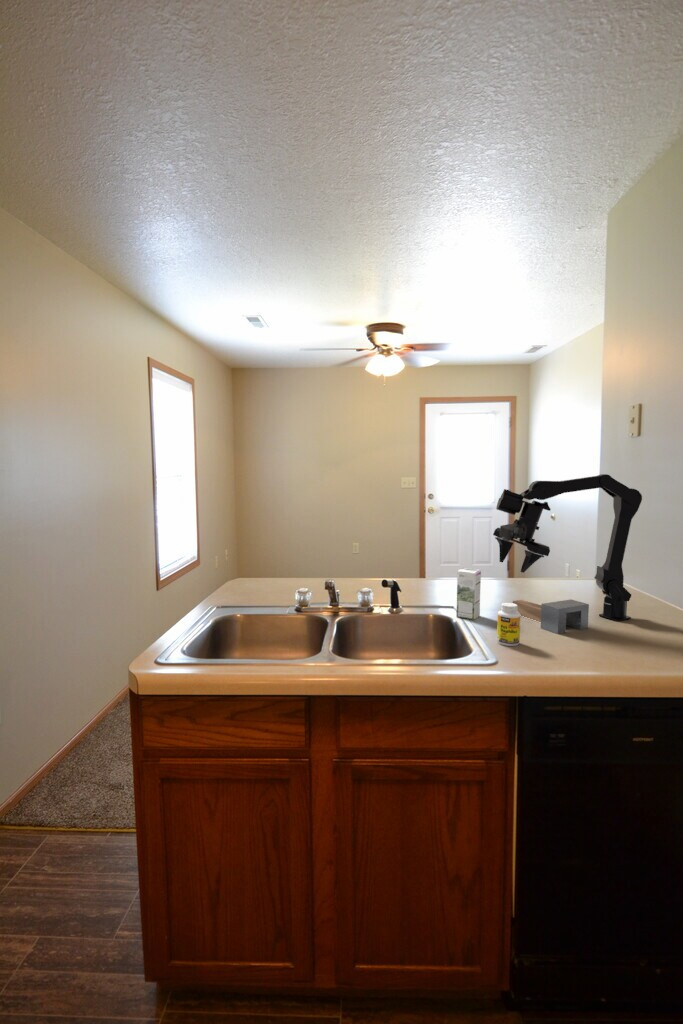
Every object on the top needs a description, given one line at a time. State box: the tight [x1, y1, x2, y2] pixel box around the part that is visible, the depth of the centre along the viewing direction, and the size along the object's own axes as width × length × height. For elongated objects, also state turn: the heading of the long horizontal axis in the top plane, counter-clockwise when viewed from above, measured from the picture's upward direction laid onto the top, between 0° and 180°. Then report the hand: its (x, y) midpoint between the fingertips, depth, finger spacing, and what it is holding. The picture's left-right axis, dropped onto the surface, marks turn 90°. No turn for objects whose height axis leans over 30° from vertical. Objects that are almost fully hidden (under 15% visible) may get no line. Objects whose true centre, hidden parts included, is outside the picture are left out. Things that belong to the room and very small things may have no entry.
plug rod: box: [512, 599, 541, 623], centre depth 158 cm, size 4×16×4 cm, turn 26°
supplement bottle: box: [496, 602, 521, 647], centre depth 135 cm, size 6×6×10 cm
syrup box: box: [456, 567, 482, 621], centre depth 160 cm, size 6×6×14 cm
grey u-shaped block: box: [540, 599, 590, 635], centre depth 149 cm, size 12×6×7 cm, turn 116°
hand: (511, 567), depth 164 cm, fingers open, 9 cm apart
